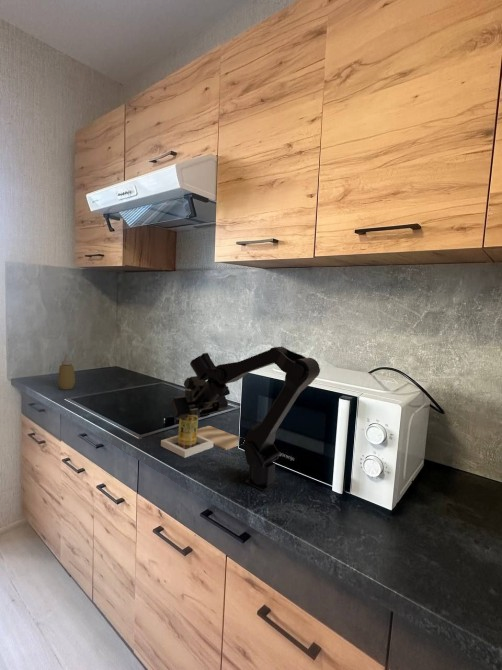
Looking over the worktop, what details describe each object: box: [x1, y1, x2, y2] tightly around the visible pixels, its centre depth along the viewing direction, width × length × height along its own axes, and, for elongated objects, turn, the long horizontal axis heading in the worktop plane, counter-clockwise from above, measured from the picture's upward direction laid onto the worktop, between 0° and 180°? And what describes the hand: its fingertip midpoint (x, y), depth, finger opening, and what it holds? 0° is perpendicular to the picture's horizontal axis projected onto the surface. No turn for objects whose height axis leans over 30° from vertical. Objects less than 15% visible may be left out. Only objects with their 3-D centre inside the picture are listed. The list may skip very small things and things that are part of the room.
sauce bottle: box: [177, 388, 199, 450], centre depth 120 cm, size 6×6×20 cm
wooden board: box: [197, 425, 240, 451], centre depth 131 cm, size 20×11×1 cm, turn 50°
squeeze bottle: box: [57, 353, 76, 390], centre depth 185 cm, size 8×8×18 cm
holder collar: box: [160, 434, 214, 459], centre depth 121 cm, size 12×12×2 cm
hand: (190, 416), depth 119 cm, fingers open, 9 cm apart
